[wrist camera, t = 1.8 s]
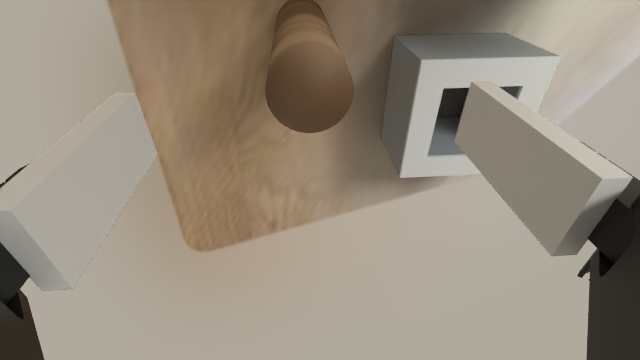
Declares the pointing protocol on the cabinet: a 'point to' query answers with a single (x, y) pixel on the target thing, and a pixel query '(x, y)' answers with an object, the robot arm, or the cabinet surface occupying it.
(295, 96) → the walnut dowel
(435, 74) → the socket block
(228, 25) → the cabinet surface
